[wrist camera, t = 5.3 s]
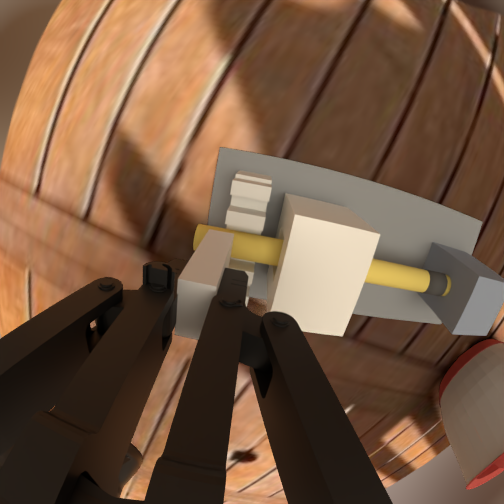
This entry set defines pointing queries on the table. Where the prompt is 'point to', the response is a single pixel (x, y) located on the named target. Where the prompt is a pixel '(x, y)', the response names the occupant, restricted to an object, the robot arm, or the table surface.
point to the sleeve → (320, 264)
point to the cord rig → (387, 251)
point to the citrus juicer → (476, 411)
